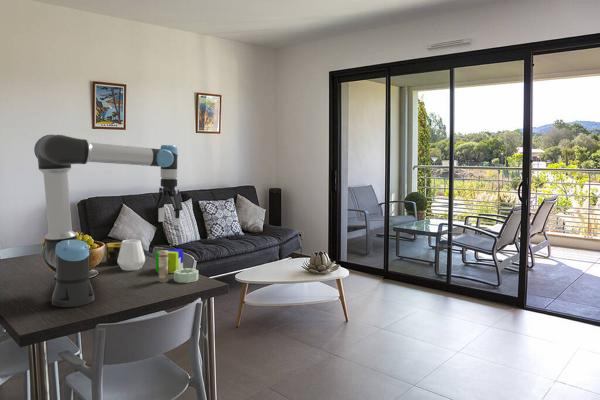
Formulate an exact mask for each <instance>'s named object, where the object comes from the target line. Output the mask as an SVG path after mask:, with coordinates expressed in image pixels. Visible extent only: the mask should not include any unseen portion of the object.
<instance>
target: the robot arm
mask: <svg viewBox="0 0 600 400" xmlns="http://www.w3.org/2000/svg"><path fill="white" fill-rule="evenodd" d="M33 150H34V152H33V153H34V155H35V158H37V163H38V165H37V166H38V170H39V171H40V172H41V173H42V174H43V184H44V185H43V186H44V193H45V205H46V216H47V218H46V219H47V228H48V229H47V230H48V233H47V234H46V235H45V236H44V244H45V245H44V247H43V258H44V259H45V261H46V262H47V264H48V265H50V266H51V267H54V268H55V277H56V278H55V281H56V283H55V287H54V289H53V293H52V297H51V305H52V306H54V307H58V308H76V307H81V306H86V305H89V304H91V303H93V302H94V301H95V293H94V289H93V287H92V284H91V282H90V249H89V247H90V246H89V244H88V243H87V242H86V241H84V240H80V239H78V238H77V235H78V234H77V233H76V232H75V231H73V227H72V226H73V225H72V224H73V223H72V215H71V201H70V199H71V198H70V189H69V178H68V177H69V175H68V173H69V171H70V170H71V169H72V165H86V164H87V163H97V164H98V163H102V164H115V165H116V164H117V165H129V166H131V165H132V166H145V167H157V168H158V167H160V178H161V179H160V187H159V188H158V195H157V198H156V202H155V206H156V207H157V209H158V222H159V223H160V222H162V223H163V222H165V205H166V202H167V200H168V199H169V201H170V202H171V206H172V208H173V210H172V211H173V212H172V213H173V215H172V216H173V218H172V219H173V220H172V223H173V224H172V225H173V226H180V212H181V211H183V209H184V208H183V205H182V201H181V198H180V190H179V189H175V188H176V187H178V179H177V178H178V156H179V154H178V147H177V146H176V145H173V144H172V145H170V144H161V146H160V148H150V147H141V146H132V145H131V146H129V145H122V144H121V145H118V144H112V143H111V144H109V143H98V142H97V143H96V142H89V140H88V139H84V138H83V139H82V138H76V137H72V136H67V135H63V134H46V135H43V136H41V137H40V138H39V139H38V140H37V141H36V142H35V144H34V149H33Z"/></svg>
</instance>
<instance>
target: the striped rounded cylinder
mask: <svg viewBox="0 0 600 400" xmlns="http://www.w3.org/2000/svg"><path fill="white" fill-rule="evenodd" d="M160 250H161V251H160ZM160 250H158V251H159V272H158V282H159V283H167V282H168V281H169V273H168V251H167V250H162V249H160Z"/></svg>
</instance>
